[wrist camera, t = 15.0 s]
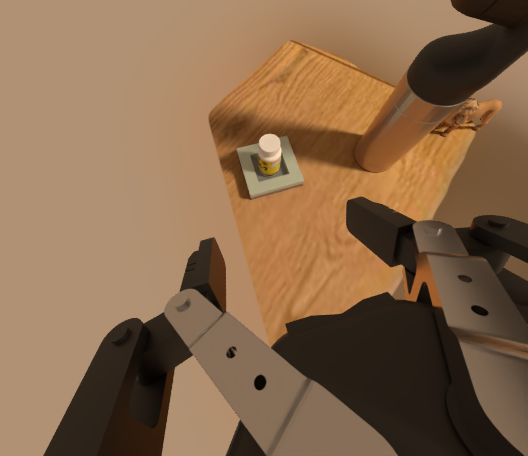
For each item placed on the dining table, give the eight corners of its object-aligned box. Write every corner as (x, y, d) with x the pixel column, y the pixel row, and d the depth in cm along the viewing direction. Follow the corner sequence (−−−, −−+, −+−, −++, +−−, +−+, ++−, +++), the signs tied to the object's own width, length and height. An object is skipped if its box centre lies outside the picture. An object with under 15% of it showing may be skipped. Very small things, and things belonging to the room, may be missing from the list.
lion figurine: (432, 146, 44) (472, 114, 35) (420, 128, 45) (456, 94, 37) (486, 128, 45) (538, 93, 36) (473, 111, 46) (520, 73, 38)
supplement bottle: (254, 165, 43) (251, 139, 34) (271, 155, 43) (272, 127, 35) (266, 181, 42) (266, 158, 33) (283, 170, 42) (287, 144, 34)
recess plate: (237, 154, 45) (236, 148, 42) (285, 142, 45) (286, 135, 43) (251, 199, 42) (250, 195, 40) (302, 185, 42) (304, 180, 40)
